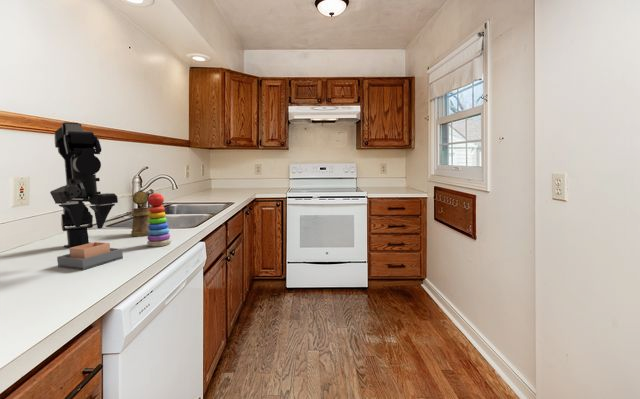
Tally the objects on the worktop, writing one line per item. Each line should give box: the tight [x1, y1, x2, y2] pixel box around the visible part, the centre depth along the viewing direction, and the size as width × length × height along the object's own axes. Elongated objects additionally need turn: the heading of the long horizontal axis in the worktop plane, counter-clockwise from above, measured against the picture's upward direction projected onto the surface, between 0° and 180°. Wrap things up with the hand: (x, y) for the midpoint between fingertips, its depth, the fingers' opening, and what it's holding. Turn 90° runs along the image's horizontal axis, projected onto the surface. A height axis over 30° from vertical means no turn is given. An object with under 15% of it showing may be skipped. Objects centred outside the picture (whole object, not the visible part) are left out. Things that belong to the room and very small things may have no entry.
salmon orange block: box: [68, 241, 111, 259], centre depth 102 cm, size 6×8×4 cm
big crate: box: [56, 247, 124, 271], centre depth 102 cm, size 10×12×3 cm
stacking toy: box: [146, 192, 172, 248], centre depth 123 cm, size 8×8×19 cm
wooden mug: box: [130, 190, 151, 237], centre depth 144 cm, size 9×14×18 cm, turn 27°
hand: (88, 227), depth 101 cm, fingers open, 9 cm apart
